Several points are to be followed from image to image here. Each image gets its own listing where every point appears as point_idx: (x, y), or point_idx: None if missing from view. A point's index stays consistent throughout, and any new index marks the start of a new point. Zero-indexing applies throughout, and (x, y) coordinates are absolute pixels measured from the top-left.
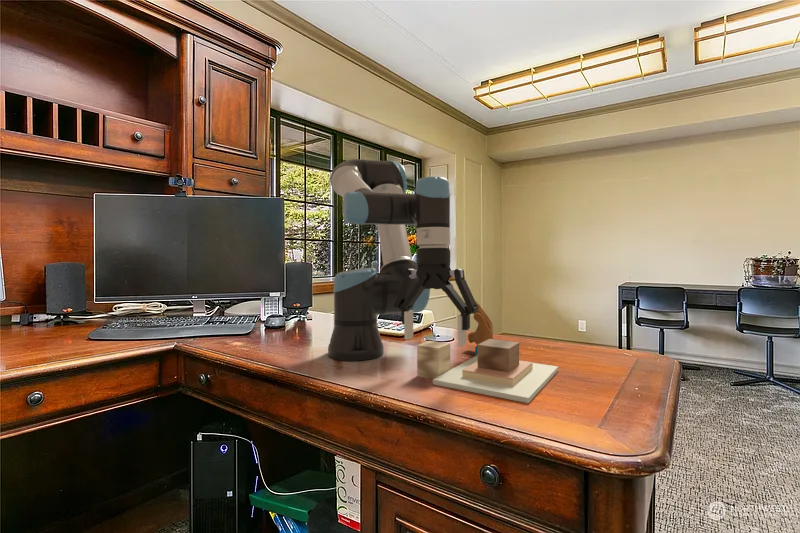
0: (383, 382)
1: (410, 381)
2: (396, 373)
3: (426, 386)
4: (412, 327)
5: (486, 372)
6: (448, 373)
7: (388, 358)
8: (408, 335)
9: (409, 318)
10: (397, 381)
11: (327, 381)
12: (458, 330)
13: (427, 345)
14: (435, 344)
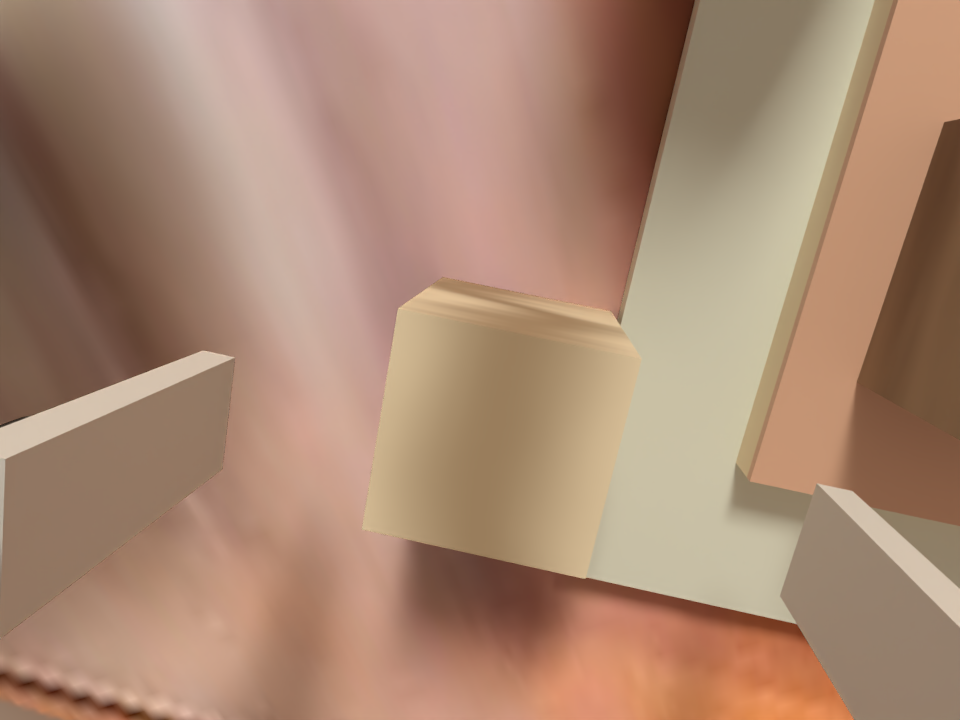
0: (281, 607)
1: (416, 546)
2: (270, 429)
3: (536, 598)
4: (170, 399)
5: (935, 487)
6: (626, 421)
7: (31, 87)
8: (204, 460)
9: (84, 513)
10: (346, 568)
11: (6, 677)
12: (851, 701)
13: (453, 510)
14: (511, 446)
